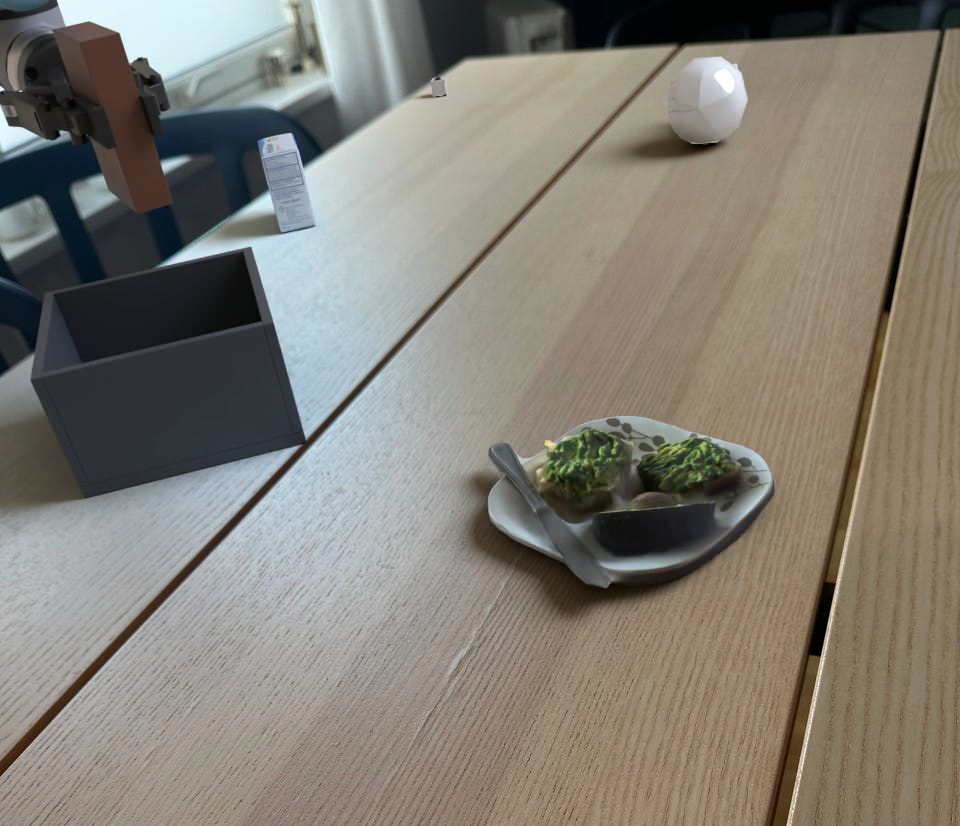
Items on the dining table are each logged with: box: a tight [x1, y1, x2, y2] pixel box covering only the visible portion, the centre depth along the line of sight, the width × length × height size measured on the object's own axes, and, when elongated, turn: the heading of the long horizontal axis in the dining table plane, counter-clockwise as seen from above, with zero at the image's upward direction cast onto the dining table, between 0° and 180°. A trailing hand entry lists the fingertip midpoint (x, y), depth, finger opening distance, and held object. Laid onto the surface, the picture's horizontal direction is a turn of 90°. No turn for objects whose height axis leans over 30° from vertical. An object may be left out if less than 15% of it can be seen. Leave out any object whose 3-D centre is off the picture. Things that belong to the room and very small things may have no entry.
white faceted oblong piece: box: [665, 56, 749, 143], centre depth 123 cm, size 9×10×15 cm
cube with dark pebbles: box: [430, 76, 448, 97], centre depth 158 cm, size 2×2×2 cm
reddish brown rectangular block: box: [52, 20, 174, 215], centre depth 80 cm, size 3×9×12 cm, turn 31°
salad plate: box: [487, 415, 776, 589], centre depth 67 cm, size 19×18×5 cm
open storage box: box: [29, 246, 307, 499], centre depth 83 cm, size 18×18×10 cm
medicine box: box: [257, 132, 317, 233], centre depth 119 cm, size 8×4×9 cm, turn 13°
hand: (130, 122), depth 76 cm, fingers closed on reddish brown rectangular block, 3 cm apart
